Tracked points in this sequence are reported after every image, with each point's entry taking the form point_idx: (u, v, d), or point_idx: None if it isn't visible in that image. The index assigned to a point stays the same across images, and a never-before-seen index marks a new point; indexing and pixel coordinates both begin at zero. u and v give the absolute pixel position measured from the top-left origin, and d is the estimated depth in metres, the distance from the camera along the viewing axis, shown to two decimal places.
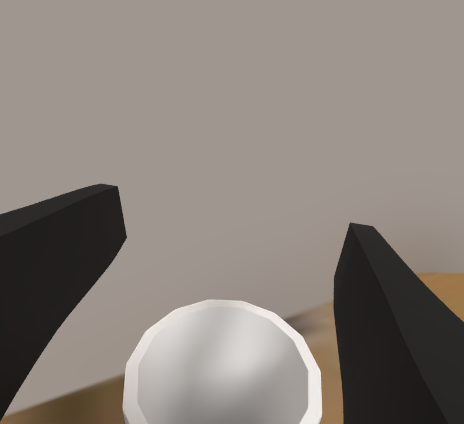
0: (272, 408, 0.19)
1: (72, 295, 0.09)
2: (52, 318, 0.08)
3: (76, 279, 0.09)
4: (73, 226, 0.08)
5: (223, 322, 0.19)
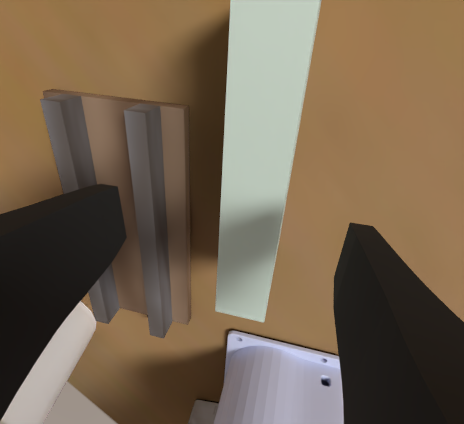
0: None
1: (72, 295, 0.09)
2: (52, 318, 0.08)
3: (76, 279, 0.09)
4: (73, 226, 0.08)
5: None
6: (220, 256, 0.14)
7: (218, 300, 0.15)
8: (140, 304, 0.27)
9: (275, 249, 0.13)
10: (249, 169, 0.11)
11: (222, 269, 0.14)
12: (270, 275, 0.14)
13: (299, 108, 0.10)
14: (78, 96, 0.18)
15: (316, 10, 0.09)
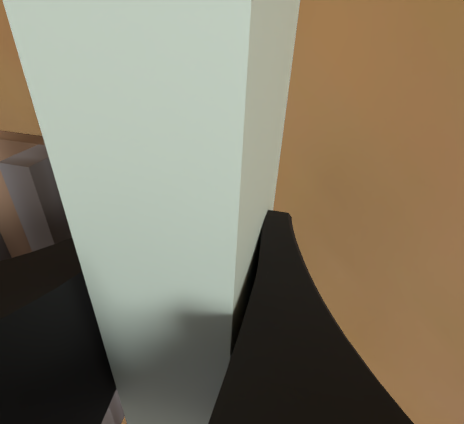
0: None
1: None
2: None
3: None
4: None
5: None
6: None
7: None
8: None
9: None
10: (148, 330, 0.05)
11: None
12: None
13: (232, 235, 0.04)
14: None
15: None
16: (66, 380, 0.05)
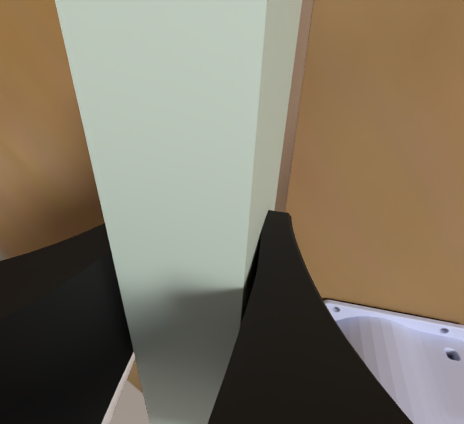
0: None
1: None
2: None
3: None
4: None
5: None
6: (147, 399, 0.09)
7: None
8: None
9: None
10: (167, 297, 0.06)
11: (154, 413, 0.09)
12: None
13: (246, 205, 0.04)
14: None
15: None
16: (66, 380, 0.05)
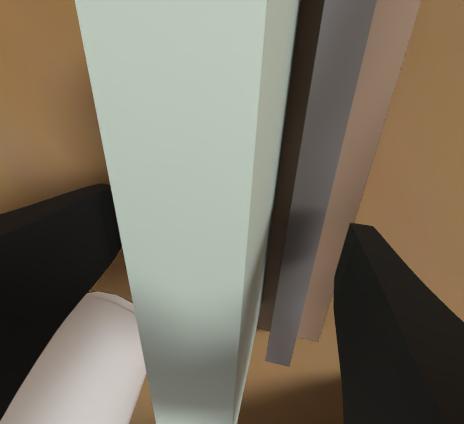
0: None
1: (72, 295, 0.09)
2: (52, 318, 0.08)
3: (76, 279, 0.09)
4: (73, 226, 0.08)
5: None
6: (152, 385, 0.09)
7: None
8: None
9: (233, 387, 0.08)
10: (173, 281, 0.06)
11: (158, 399, 0.09)
12: (230, 416, 0.09)
13: (247, 190, 0.05)
14: None
15: None
16: None
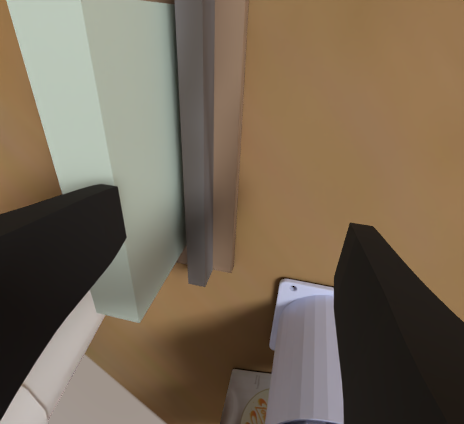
0: None
1: (72, 295, 0.09)
2: (52, 318, 0.08)
3: (76, 279, 0.09)
4: (73, 226, 0.08)
5: None
6: None
7: (95, 302, 0.16)
8: None
9: (126, 255, 0.14)
10: (80, 181, 0.12)
11: None
12: (130, 279, 0.14)
13: (101, 125, 0.11)
14: None
15: (85, 37, 0.09)
16: None
